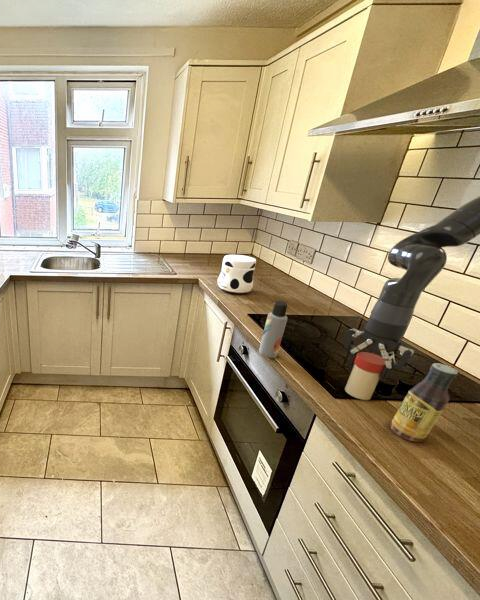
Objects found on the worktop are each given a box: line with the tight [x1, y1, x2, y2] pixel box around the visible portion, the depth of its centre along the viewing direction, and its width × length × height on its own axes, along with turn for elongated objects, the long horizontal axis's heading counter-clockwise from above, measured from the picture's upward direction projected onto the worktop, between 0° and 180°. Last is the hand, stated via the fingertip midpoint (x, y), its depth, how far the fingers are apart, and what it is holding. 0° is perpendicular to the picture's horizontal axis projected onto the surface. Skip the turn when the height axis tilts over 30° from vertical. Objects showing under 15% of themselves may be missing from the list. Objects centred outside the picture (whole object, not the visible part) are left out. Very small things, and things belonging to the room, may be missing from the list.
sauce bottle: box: [389, 362, 459, 443], centre depth 74 cm, size 6×6×20 cm
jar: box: [344, 364, 381, 401], centre depth 90 cm, size 6×6×11 cm
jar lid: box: [354, 351, 386, 373], centre depth 88 cm, size 7×7×3 cm
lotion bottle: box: [258, 300, 289, 359], centre depth 108 cm, size 6×6×20 cm
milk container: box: [217, 254, 257, 295], centre depth 167 cm, size 17×17×18 cm
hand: (366, 370), depth 89 cm, fingers closed on jar lid, 6 cm apart
